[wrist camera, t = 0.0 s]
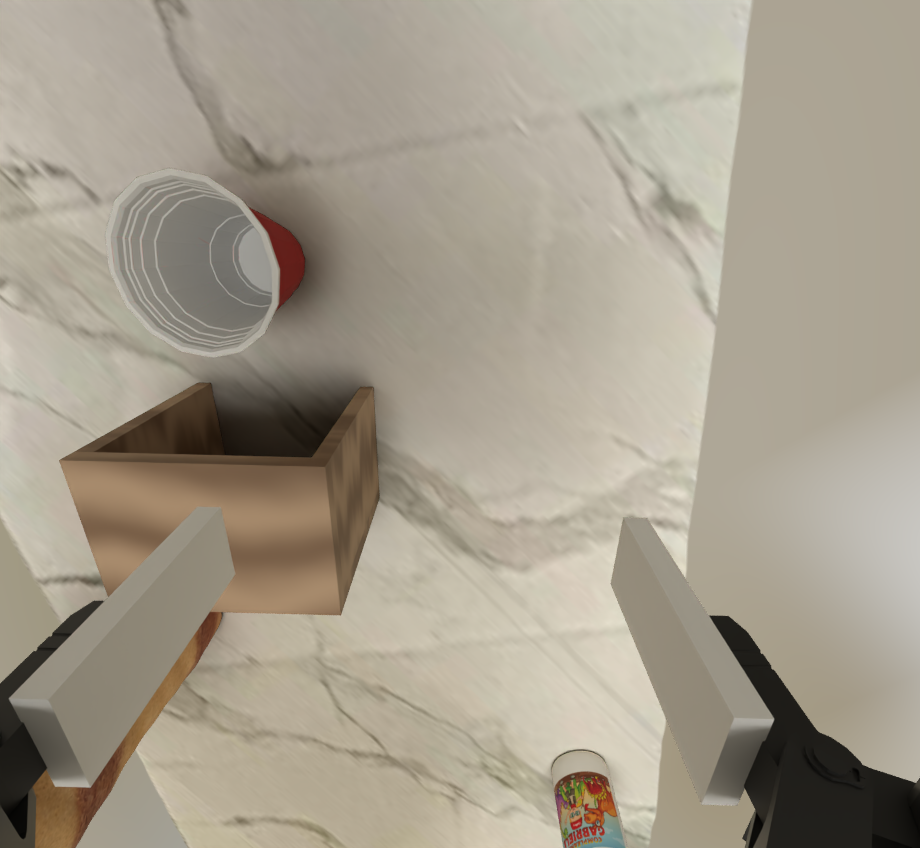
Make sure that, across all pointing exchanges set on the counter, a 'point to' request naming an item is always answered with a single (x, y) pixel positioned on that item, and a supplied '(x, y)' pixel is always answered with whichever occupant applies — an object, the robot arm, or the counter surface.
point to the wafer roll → (74, 807)
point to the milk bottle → (586, 802)
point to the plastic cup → (199, 262)
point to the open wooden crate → (233, 502)
